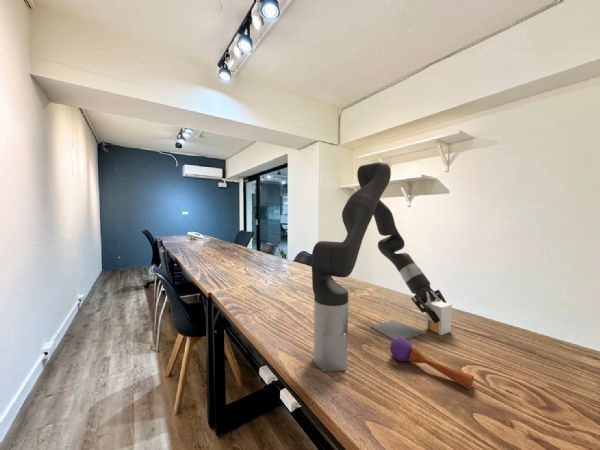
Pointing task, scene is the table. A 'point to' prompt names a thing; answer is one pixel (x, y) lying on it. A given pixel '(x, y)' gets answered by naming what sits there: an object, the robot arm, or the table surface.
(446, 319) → the cover
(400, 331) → the mat
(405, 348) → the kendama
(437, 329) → the block
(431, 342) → the table surface
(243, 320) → the table surface
